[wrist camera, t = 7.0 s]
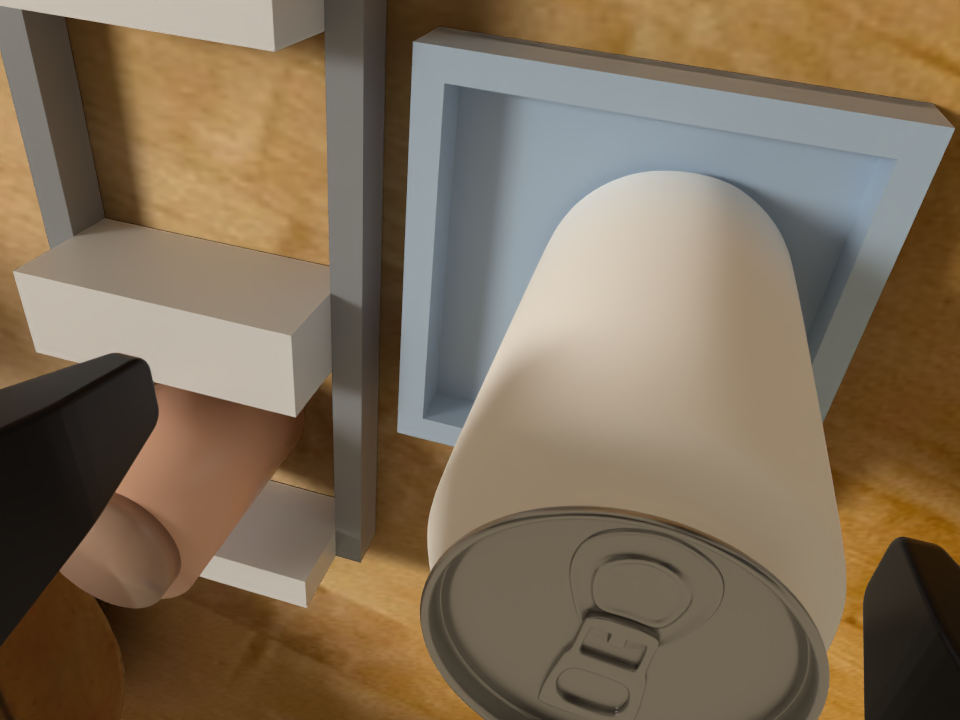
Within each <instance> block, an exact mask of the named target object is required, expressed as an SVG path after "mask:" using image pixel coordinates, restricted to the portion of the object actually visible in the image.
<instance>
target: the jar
mask: <svg viewBox="0 0 960 720" xmlns="http://www.w3.org/2000/svg"><path fill="white" fill-rule="evenodd" d="M154 388H155V392H156V397H157V402H158V406H159V417H158V421H157V424H156V426H155V428H154V430H153V432H152V433H151V435H150V437H149V438H148V440H147V442H146V443H145V445H144V446H143V448H142V450H141V451H140V453H139V454H138V456H137V458H136V459H135V461H134V463H133V464H132V466H131V467H130V469H129V471H128V472H127V474H126V476H125V477H124V479H123V480H122V482H121V484H120V485H119V487H118V488H117V490H116V492H115V493H114V495H113V497H112V498H111V500H110V501H109V503H108V505H107V506H106V508H105V509H104V511H103V512H102V514H101V515H100V517H99V518H98V520H97V521H96V523H95V524H94V526H93V527H92V529H91V530H90V531H89V533H88V534H87V535H86V537H85V538H84V539H83V541H82V542H81V543H80V545H79V546H78V547H77V549H76V550H75V551H74V552H73V554H72V555H71V556H70V558H69V559H68V560H67V562H66V563H65V564H64V565H63V567H62V568H61V569H60V572H61V573H62V574H63V575H64V576H65V577H66V578H67V579H68V580H70V581H71V582H72V583H73V584H75V585H76V586H78V587H79V588H80V589H82V590H84V591H85V592H87V593H89V594H90V595H92V596H94V597H96V598H98V599H100V600H103V601H105V602H108V603H110V604H113V605H117V606H121V607H126V608H145V607H149V606H152V605H154V604H155V603H157V602H158V601H159V600H160V599H168V598H173V597H177V596H179V595H182V594H183V593H185V592H186V591H188V590H189V589H190V588H191V587H192V585H193V584H194V582H195V581H196V580H197V578H198V577H199V576H200V574H201V573H202V572H203V570H204V569H205V567H206V566H207V565H208V563H209V562H210V561H211V559H212V558H213V557H214V555H215V554H216V553H217V551H218V550H219V548H220V547H221V546H222V544H223V543H224V542H225V540H226V539H227V538H228V536H229V535H230V533H231V532H232V531H233V529H234V528H235V527H236V525H237V524H238V523H239V521H240V520H241V519H242V517H243V516H244V514H245V513H246V512H247V510H248V509H249V508H250V506H251V505H252V504H253V502H254V501H255V499H256V498H257V497H258V495H259V494H260V493H261V491H262V490H263V489H264V487H265V486H266V485H267V483H268V482H269V480H270V479H271V478H272V476H273V475H274V474H275V472H276V471H277V470H278V468H279V467H280V465H281V464H282V463H283V461H284V460H285V459H286V457H287V456H288V455H289V453H290V452H291V451H292V449H293V448H294V446H295V445H296V444H297V442H298V441H299V439H300V438H301V436H302V433H303V431H304V426H305V414H304V408H303V409H302V410H301V411H300V413H299V414H298V415H297V417H296V418H295V417H292V416H288V415H284V414H280V413H276V412H272V411H268V410H264V409H260V408H256V407H252V406H248V405H244V404H240V403H236V402H232V401H228V400H224V399H220V398H216V397H212V396H208V395H204V394H200V393H196V392H192V391H188V390H184V389H180V388H176V387H172V386H168V385H164V384H160V383H158V384H157V385H155V386H154Z"/></svg>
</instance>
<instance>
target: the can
mask: <svg viewBox="0 0 960 720" xmlns="http://www.w3.org/2000/svg"><path fill="white" fill-rule="evenodd" d="M427 546H428V557H429V565H430V574H429V576H428V578H427V580H426V583H425V586H424V589H423V592H422V597H421V604H420V621H421V628H422V633H423V637H424V641H425V644H426V647H427V649H428V652H429V654H430V656H431V658H432V660H433V662H434V664H435V666H436V667H437V669H438V670H439V672H440V674H441V675H442V676H443V678H444V679H445V681H446V682H447V683H448V684H449V686H450V687H451V688H452V689H453V690H454V692H455V693H456V694H457V695H458V696H459V697H460V698H461V699H462V700H463V701H464V702H465V703H466V704H467V705H468V706H469V707H470V708H472V709H473V710H474V711H475V712H476V713H477V714H479V715H480V716H481V717H482V718H484V719H485V720H818V718H819V716H820V714H821V712H822V710H823V707H824V705H825V702H826V698H827V694H828V688H829V664H828V658H827V654H826V652H827V651H828V649H829V647H830V645H831V643H832V641H833V638H834V636H835V634H836V631H837V629H838V626H839V623H840V620H841V617H842V613H843V609H844V605H845V598H846V565H845V556H844V549H843V541H842V534H841V527H840V521H839V515H838V509H837V503H836V497H835V491H834V486H833V480H832V474H831V469H830V463H829V457H828V452H827V446H826V441H825V435H824V429H823V424H822V418H821V413H820V407H819V402H818V397H817V391H816V386H815V380H814V375H813V369H812V364H811V359H810V353H809V348H808V342H807V337H806V332H805V326H804V321H803V316H802V311H801V306H800V300H799V295H798V290H797V285H796V280H795V276H794V271H793V266H792V262H791V258H790V255H789V252H788V249H787V246H786V244H785V241H784V239H783V237H782V235H781V233H780V231H779V230H778V228H777V226H776V225H775V223H774V222H773V220H772V219H771V218H770V217H769V215H768V214H767V213H766V212H765V211H764V210H763V209H762V208H761V207H760V206H759V205H758V204H757V203H756V202H755V201H754V200H753V199H752V198H751V197H749V196H748V195H747V194H746V193H744V192H743V191H742V190H740V189H739V188H737V187H735V186H733V185H731V184H729V183H727V182H725V181H722V180H719V179H717V178H713V177H710V176H706V175H702V174H697V173H690V172H682V171H648V172H641V173H636V174H631V175H628V176H624V177H622V178H619V179H616V180H614V181H611V182H609V183H607V184H605V185H603V186H601V187H599V188H597V189H596V190H594V191H593V192H591V193H590V194H588V195H587V196H585V197H584V198H583V199H582V200H580V201H579V202H578V203H577V204H576V205H575V206H574V207H573V208H572V209H571V210H570V211H569V212H568V213H567V214H566V216H565V217H564V218H563V219H562V221H561V222H560V224H559V225H558V227H557V228H556V230H555V231H554V233H553V235H552V237H551V239H550V241H549V242H548V244H547V246H546V248H545V250H544V253H543V255H542V257H541V259H540V261H539V263H538V265H537V267H536V269H535V272H534V274H533V276H532V278H531V280H530V282H529V284H528V287H527V289H526V291H525V293H524V295H523V297H522V299H521V302H520V304H519V306H518V308H517V310H516V312H515V315H514V317H513V319H512V321H511V323H510V325H509V328H508V330H507V332H506V334H505V336H504V338H503V341H502V343H501V345H500V347H499V349H498V352H497V354H496V356H495V358H494V360H493V363H492V365H491V367H490V369H489V371H488V373H487V376H486V378H485V380H484V382H483V384H482V387H481V389H480V391H479V393H478V395H477V398H476V400H475V402H474V404H473V407H472V409H471V411H470V413H469V415H468V418H467V420H466V422H465V424H464V426H463V429H462V431H461V433H460V435H459V438H458V440H457V442H456V444H455V447H454V449H453V451H452V454H451V456H450V458H449V460H448V463H447V465H446V468H445V470H444V472H443V475H442V477H441V480H440V482H439V485H438V487H437V490H436V493H435V496H434V500H433V503H432V506H431V510H430V514H429V520H428V529H427Z"/></svg>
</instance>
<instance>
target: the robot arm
mask: <svg viewBox="0 0 960 720" xmlns="http://www.w3.org/2000/svg"><path fill="white" fill-rule="evenodd" d="M158 417H159V406H158V402H157V397H156V392H155V388H154V383H153V379H152V374H151V369H150V366H149V365H148V363H147V362H146V361H145V360H143V359H142V358H139V357H135V356H131V355H126V354H122V353H110V354H107V355H104V356H100V357H97V358H94V359H91V360H88V361H85V362H82V363H79V364H76V365H73V366H70V367H67V368H64V369H61V370H58V371H55V372H52V373H49V374H46V375H42V376H39V377H36V378H33V379H30V380H27V381H24V382H21V383H18V384H15V385H12V386H9V387H6V388H3V389H0V647H1V646H2V645H3V644H4V642H5V641H6V640H7V638H8V637H9V636H10V634H11V633H12V632H13V631H14V629H15V628H16V627H17V625H18V624H19V623H20V621H21V620H22V619H23V617H24V616H25V615H26V614H27V612H28V611H29V610H30V608H31V607H32V606H33V604H34V603H35V602H36V601H37V599H38V598H39V597H40V595H41V594H42V593H43V591H44V590H45V589H46V588H47V586H48V585H49V584H50V582H51V581H52V580H53V578H54V577H55V576H56V575H57V573H58V572H59V571H60V569H61V568H62V567H63V565H64V564H65V563H66V562H67V560H68V559H69V558H70V556H71V555H72V554H73V552H74V551H75V550H76V549H77V547H78V546H79V545H80V543H81V542H82V541H83V539H84V538H85V537H86V535H87V534H88V533H89V531H90V530H91V529H92V527H93V526H94V524H95V523H96V521H97V520H98V518H99V517H100V515H101V514H102V512H103V511H104V509H105V508H106V506H107V505H108V503H109V501H110V500H111V498H112V497H113V495H114V493H115V492H116V490H117V488H118V487H119V485H120V484H121V482H122V480H123V479H124V477H125V476H126V474H127V472H128V471H129V469H130V467H131V466H132V464H133V463H134V461H135V459H136V458H137V456H138V454H139V453H140V451H141V450H142V448H143V446H144V445H145V443H146V442H147V440H148V438H149V437H150V435H151V433H152V432H153V430H154V428H155V426H156V424H157V421H158ZM863 639H864V712H865V720H960V566H959V565H958V564H957V563H956V562H955V561H954V560H953V559H952V558H951V557H950V555H949V554H948V553H947V552H946V551H945V550H944V549H943V548H941V547H940V546H938V545H936V544H933V543H929V542H924V541H920V540H916V539H912V538H907V537H899V538H896V539H895V540H894V541H893V542H892V543H891V544H890V545H889V547H888V549H887V551H886V553H885V554H884V556H883V558H882V560H881V562H880V563H879V565H878V567H877V569H876V571H875V572H874V574H873V576H872V578H871V580H870V581H869V583H868V585H867V588H866V591H865V595H864V601H863Z"/></svg>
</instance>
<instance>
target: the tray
mask: <svg viewBox="0 0 960 720" xmlns="http://www.w3.org/2000/svg"><path fill="white" fill-rule="evenodd" d="M954 130H955V127H954V126H953V125H952V124H951V123H950V122H949V121H948V120H947V119H946V117H945V116H944V115H943V114H942V113H941V112H940V111H939V110H938V109H937V108H936V106H935V105H934V104H933V103H927V102H920V101H914V100H908V99H901V98H895V97H888V96H882V95H876V94H869V93H863V92H856V91H850V90H843V89H837V88H831V87H824V86H818V85H811V84H805V83H798V82H792V81H786V80H779V79H773V78H766V77H760V76H754V75H747V74H741V73H734V72H728V71H721V70H715V69H709V68H702V67H696V66H689V65H683V64H676V63H670V62H664V61H657V60H651V59H644V58H638V57H632V56H625V55H619V54H612V53H606V52H599V51H593V50H587V49H580V48H574V47H567V46H561V45H554V44H548V43H542V42H535V41H529V40H522V39H516V38H510V37H503V36H497V35H490V34H484V33H477V32H471V31H465V30H458V29H452V28H445V27H438V28H436V29H434V30H433V31H431V32H429V33H427V34H425V35H424V36H422V37H420V38H418V39H417V40H415V41H413V55H412V80H411V104H410V129H409V154H408V178H407V203H406V227H405V252H404V277H403V301H402V326H401V351H400V375H399V400H398V425H397V433H401V434H405V435H409V436H413V437H417V438H421V439H425V440H429V441H433V442H437V443H441V444H445V445H449V446H453V447H455V444H456V442H457V440H458V438H459V435H460V433H461V431H462V429H463V426H464V424H465V422H466V420H467V418H468V415H469V413H470V411H471V409H472V407H473V404H474V402H475V400H476V398H477V395H478V393H479V391H480V389H481V387H482V384H483V382H484V380H485V378H486V376H487V373H488V371H489V369H490V367H491V365H492V363H493V360H494V358H495V356H496V354H497V352H498V349H499V347H500V345H501V343H502V341H503V338H504V336H505V334H506V332H507V330H508V328H509V325H510V323H511V321H512V319H513V317H514V315H515V312H516V310H517V308H518V306H519V304H520V302H521V299H522V297H523V295H524V293H525V291H526V289H527V287H528V284H529V282H530V280H531V278H532V276H533V274H534V272H535V269H536V267H537V265H538V263H539V261H540V259H541V257H542V255H543V253H544V250H545V248H546V246H547V244H548V242H549V241H550V239H551V237H552V235H553V233H554V231H555V230H556V228H557V227H558V225H559V224H560V222H561V221H562V219H563V218H564V217H565V216H566V214H567V213H568V212H569V211H570V210H571V209H572V208H573V207H574V206H575V205H576V204H577V203H578V202H579V201H580V200H582V199H583V198H584V197H585V196H587V195H588V194H590V193H591V192H593V191H594V190H596V189H597V188H599V187H601V186H603V185H605V184H607V183H609V182H611V181H614V180H616V179H619V178H622V177H624V176H628V175H631V174H636V173H641V172H648V171H682V172H690V173H697V174H702V175H706V176H710V177H713V178H717V179H719V180H722V181H725V182H727V183H729V184H731V185H733V186H735V187H737V188H739V189H740V190H742V191H743V192H744V193H746V194H747V195H748V196H749V197H751V198H752V199H753V200H754V201H755V202H756V203H757V204H758V205H759V206H760V207H761V208H762V209H763V210H764V211H765V212H766V213H767V214H768V215H769V217H770V218H771V219H772V220H773V222H774V223H775V225H776V226H777V228H778V230H779V231H780V233H781V235H782V237H783V239H784V241H785V244H786V246H787V249H788V252H789V255H790V258H791V262H792V266H793V271H794V276H795V280H796V285H797V290H798V295H799V300H800V306H801V311H802V316H803V321H804V326H805V332H806V337H807V342H808V348H809V353H810V359H811V364H812V369H813V375H814V380H815V386H816V391H817V397H818V402H819V407H820V413H821V418H822V424H823V421H824V419H825V417H826V415H827V413H828V410H829V408H830V406H831V404H832V401H833V399H834V397H835V395H836V392H837V390H838V388H839V386H840V384H841V381H842V379H843V377H844V375H845V372H846V370H847V368H848V366H849V364H850V361H851V359H852V357H853V355H854V352H855V350H856V348H857V346H858V344H859V341H860V339H861V337H862V335H863V332H864V330H865V328H866V326H867V324H868V321H869V319H870V317H871V315H872V312H873V310H874V308H875V306H876V304H877V301H878V299H879V297H880V295H881V292H882V290H883V288H884V286H885V284H886V281H887V279H888V277H889V275H890V272H891V270H892V268H893V266H894V263H895V261H896V259H897V257H898V255H899V252H900V250H901V248H902V246H903V243H904V241H905V239H906V237H907V235H908V232H909V230H910V228H911V226H912V223H913V221H914V219H915V217H916V215H917V212H918V210H919V208H920V206H921V203H922V201H923V199H924V197H925V195H926V192H927V190H928V188H929V186H930V183H931V181H932V179H933V177H934V175H935V172H936V170H937V168H938V166H939V163H940V161H941V159H942V157H943V155H944V152H945V150H946V148H947V146H948V143H949V141H950V139H951V137H952V134H953V132H954Z"/></svg>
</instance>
